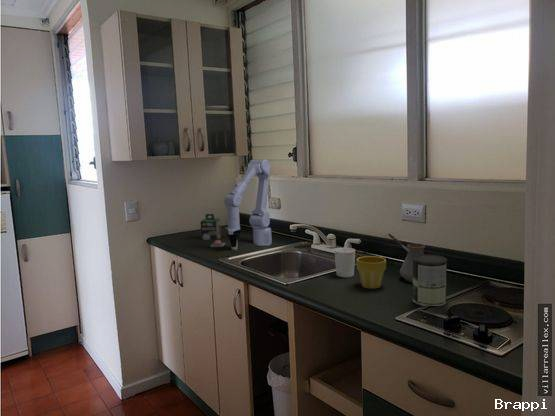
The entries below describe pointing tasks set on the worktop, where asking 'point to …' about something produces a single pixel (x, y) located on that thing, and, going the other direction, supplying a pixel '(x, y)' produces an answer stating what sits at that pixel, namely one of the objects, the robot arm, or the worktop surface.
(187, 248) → the worktop surface
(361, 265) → the plant pot
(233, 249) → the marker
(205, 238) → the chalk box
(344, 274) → the white cup
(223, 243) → the button housing
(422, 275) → the coffee can
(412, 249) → the coffee pot
